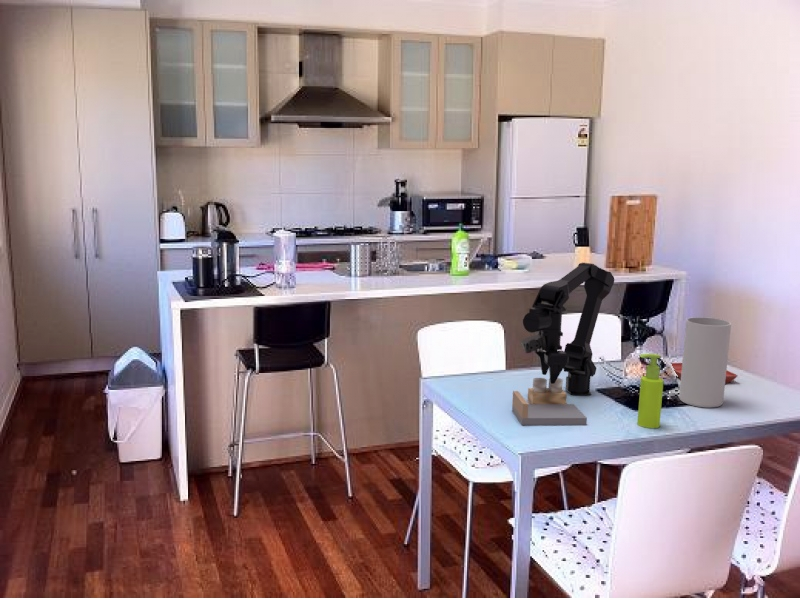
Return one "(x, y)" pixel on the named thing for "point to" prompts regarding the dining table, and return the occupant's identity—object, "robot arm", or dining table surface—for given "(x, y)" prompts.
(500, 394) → the dining table surface
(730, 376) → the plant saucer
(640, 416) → the soap dispenser
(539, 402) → the glass caddy
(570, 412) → the l-shaped bookend
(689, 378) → the cylinder vase
